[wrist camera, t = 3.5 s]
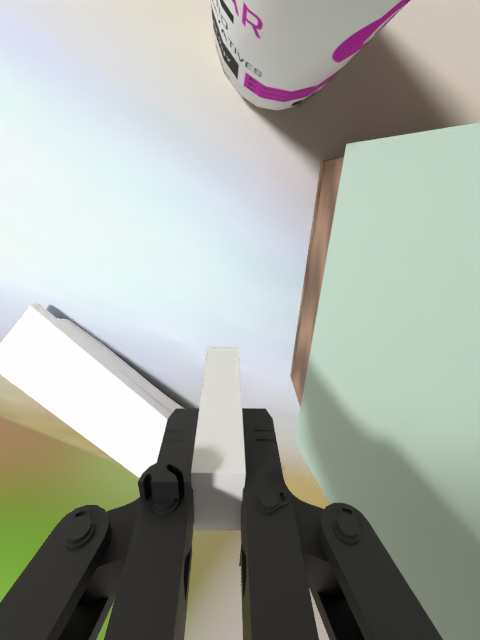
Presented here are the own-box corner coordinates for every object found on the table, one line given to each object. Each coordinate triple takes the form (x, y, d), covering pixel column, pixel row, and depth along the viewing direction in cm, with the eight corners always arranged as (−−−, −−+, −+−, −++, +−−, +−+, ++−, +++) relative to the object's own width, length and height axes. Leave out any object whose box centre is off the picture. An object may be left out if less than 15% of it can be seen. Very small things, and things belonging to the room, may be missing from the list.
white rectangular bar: (42, 330, 34) (211, 468, 40) (-20, 370, 28) (191, 525, 34) (76, 279, 29) (264, 446, 35) (9, 315, 22) (251, 510, 29)
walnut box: (321, 161, 22) (366, 152, 15) (528, 171, 23) (668, 167, 15) (290, 375, 30) (309, 435, 23) (440, 377, 31) (503, 436, 24)
